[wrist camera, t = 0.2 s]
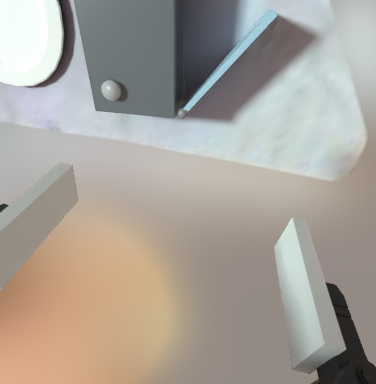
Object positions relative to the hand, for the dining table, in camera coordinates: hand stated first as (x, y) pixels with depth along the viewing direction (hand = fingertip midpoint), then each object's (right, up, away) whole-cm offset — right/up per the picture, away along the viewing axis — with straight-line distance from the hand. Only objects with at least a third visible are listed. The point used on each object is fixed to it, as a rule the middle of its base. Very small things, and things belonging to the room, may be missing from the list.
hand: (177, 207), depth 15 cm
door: (+6, +18, +18) cm, 27 cm away
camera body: (-5, +23, +18) cm, 29 cm away
